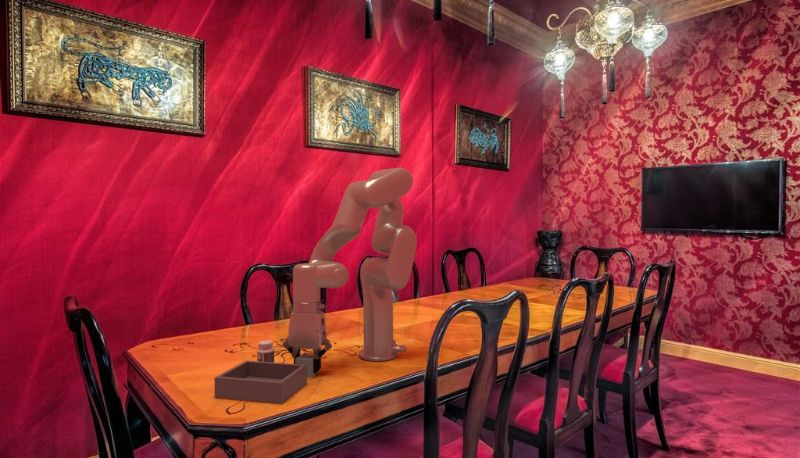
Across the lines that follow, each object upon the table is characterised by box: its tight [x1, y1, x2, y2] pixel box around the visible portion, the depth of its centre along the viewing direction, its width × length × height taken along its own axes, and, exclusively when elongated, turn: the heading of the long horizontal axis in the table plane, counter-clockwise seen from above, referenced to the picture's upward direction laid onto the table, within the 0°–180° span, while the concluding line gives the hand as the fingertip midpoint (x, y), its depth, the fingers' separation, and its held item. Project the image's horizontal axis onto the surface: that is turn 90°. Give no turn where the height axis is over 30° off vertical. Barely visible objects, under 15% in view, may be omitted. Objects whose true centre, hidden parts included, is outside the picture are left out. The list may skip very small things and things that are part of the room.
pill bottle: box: [256, 340, 275, 363], centre depth 131 cm, size 5×5×8 cm
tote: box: [214, 360, 308, 405], centre depth 116 cm, size 18×14×5 cm
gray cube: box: [295, 353, 320, 379], centre depth 128 cm, size 5×5×5 cm
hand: (307, 370), depth 128 cm, fingers closed on gray cube, 5 cm apart
